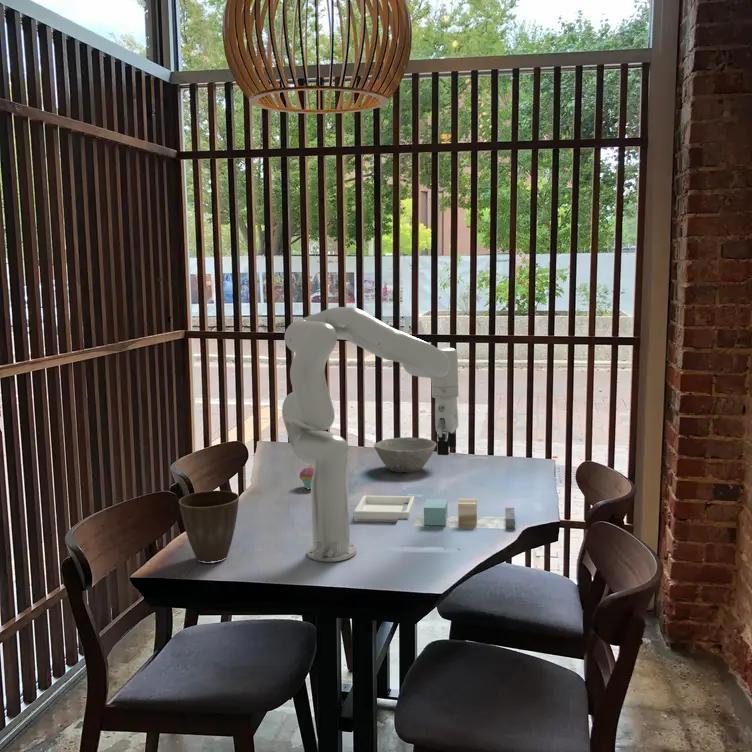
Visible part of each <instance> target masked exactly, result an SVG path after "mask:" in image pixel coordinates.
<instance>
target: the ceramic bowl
mask: <svg viewBox="0 0 752 752" xmlns="http://www.w3.org/2000/svg"><path fill="white" fill-rule="evenodd" d="M436 447H437V441H434V440H432V439H428V438H422V437H421V438H420V437H395V438H393V437H392V438H386V439H383V440H380V441H378V442H376V443H374V444H373V448H374V449H375V451H376V454H377V455H378V457H379V458H380V459H381V461H382V463H383V464H384V466H385V467H386V468H387V469H388V470H390V471H392V472H394V471H397V472H396V473H402V472H407V473H411V472H412V473H416V472H418V471H420V470H421V469H423V468H424V467H425V465H426V464H427V463H428V462H429V460H430V458H431V457H432V455H433V454H434V453H433V452H434V451H435V449H436Z"/></svg>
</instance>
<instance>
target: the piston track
mask: <svg viewBox="0 0 752 752" xmlns="http://www.w3.org/2000/svg"><path fill="white" fill-rule="evenodd" d="M504 513H505V515H504V516H477V525H458V515H447V521H446V525H424V514H423V515H419V514H417V515H416V516H415V520H414V522H413V524H412V528H414V527H415V528H416V527H417V528H446V529H447V528H453V529H454V528H455V529H489V530H490V529H491V530H492V529H494V530H496V529H497V530H499V529H500V530H515V529H516V517H515V516H516V513H515V507H505V509H504Z"/></svg>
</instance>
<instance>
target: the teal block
mask: <svg viewBox="0 0 752 752" xmlns="http://www.w3.org/2000/svg"><path fill="white" fill-rule="evenodd" d="M423 515H424V525H446V521H447V516H448V499H440V498H439V499H435V498H434V499H430V498H427V499H425V502H424V505H423Z"/></svg>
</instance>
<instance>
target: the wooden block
mask: <svg viewBox="0 0 752 752" xmlns="http://www.w3.org/2000/svg"><path fill="white" fill-rule="evenodd" d="M477 501H478V499H477V498H458V502H457V503H458V504H457V507H458V508H457V510H458V513H457V514H458V515H457V516H458V525H477V517H478V502H477Z"/></svg>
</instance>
